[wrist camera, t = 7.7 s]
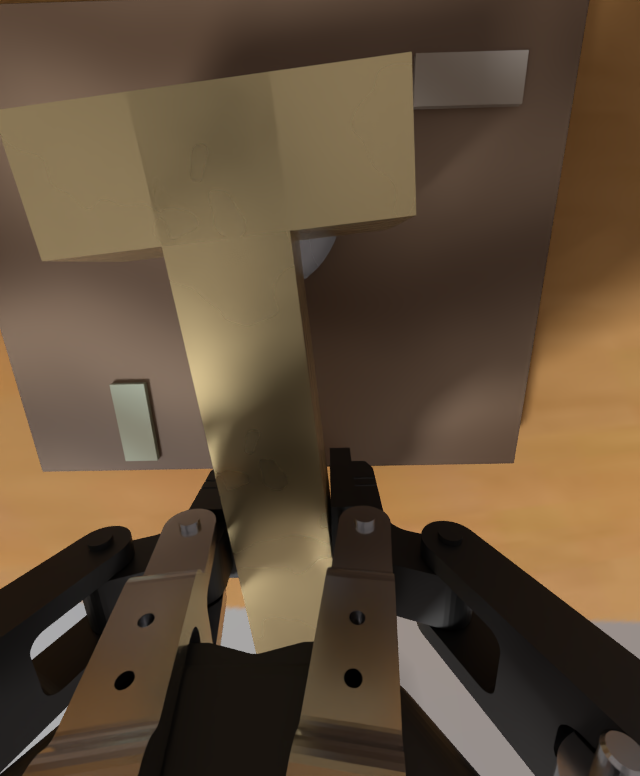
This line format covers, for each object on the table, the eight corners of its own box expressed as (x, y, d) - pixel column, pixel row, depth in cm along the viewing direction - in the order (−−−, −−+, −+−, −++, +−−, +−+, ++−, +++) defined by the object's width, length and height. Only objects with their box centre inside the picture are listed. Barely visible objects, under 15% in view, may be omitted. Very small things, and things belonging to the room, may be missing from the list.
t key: (368, 92, 10) (408, -56, 6) (394, 524, 15) (428, 647, 10) (122, 125, 11) (-41, 12, 6) (222, 540, 15) (176, 666, 10)
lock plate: (-43, 39, 11) (-104, 1, 10) (556, 21, 11) (597, -21, 9) (68, 452, 16) (39, 474, 14) (496, 444, 15) (516, 466, 14)
